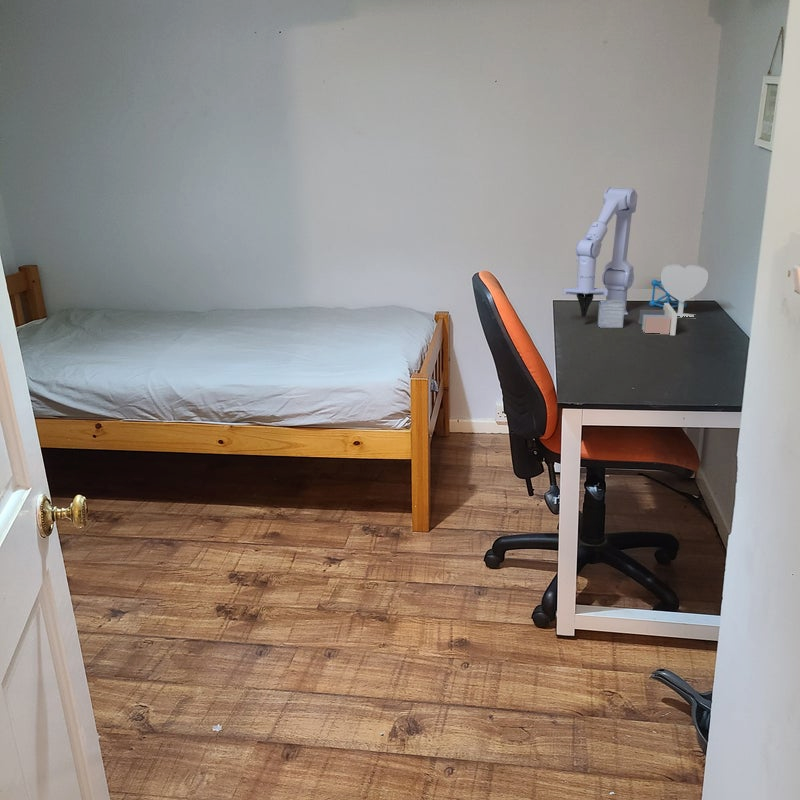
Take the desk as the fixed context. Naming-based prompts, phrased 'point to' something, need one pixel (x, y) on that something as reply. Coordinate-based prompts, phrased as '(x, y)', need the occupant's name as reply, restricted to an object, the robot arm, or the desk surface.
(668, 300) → the molecular structure
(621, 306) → the medicine box
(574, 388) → the desk surface
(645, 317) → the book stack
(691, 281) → the heart sculpture
